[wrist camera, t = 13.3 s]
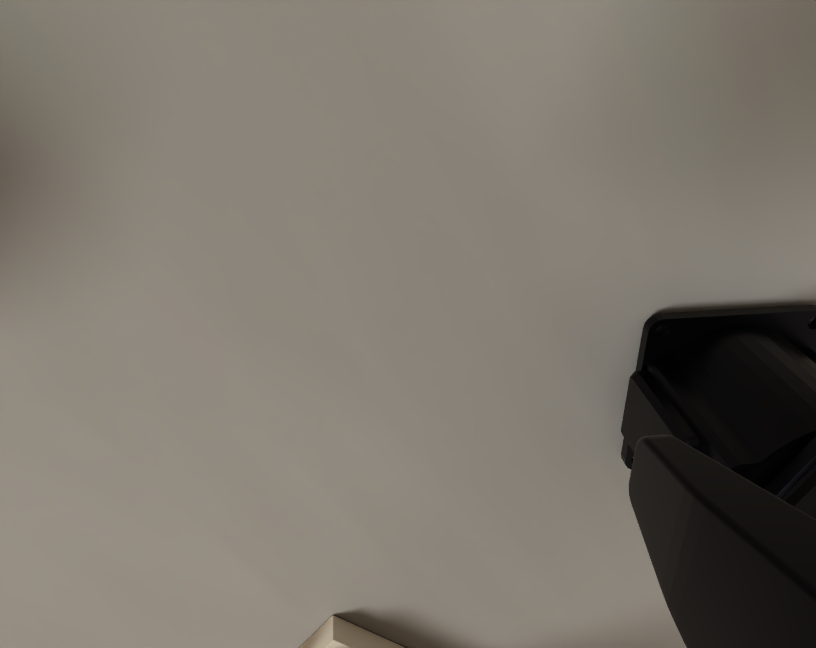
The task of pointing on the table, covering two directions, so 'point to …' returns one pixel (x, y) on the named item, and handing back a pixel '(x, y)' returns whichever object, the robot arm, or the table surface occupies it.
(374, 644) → the track
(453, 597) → the table surface
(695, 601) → the robot arm
